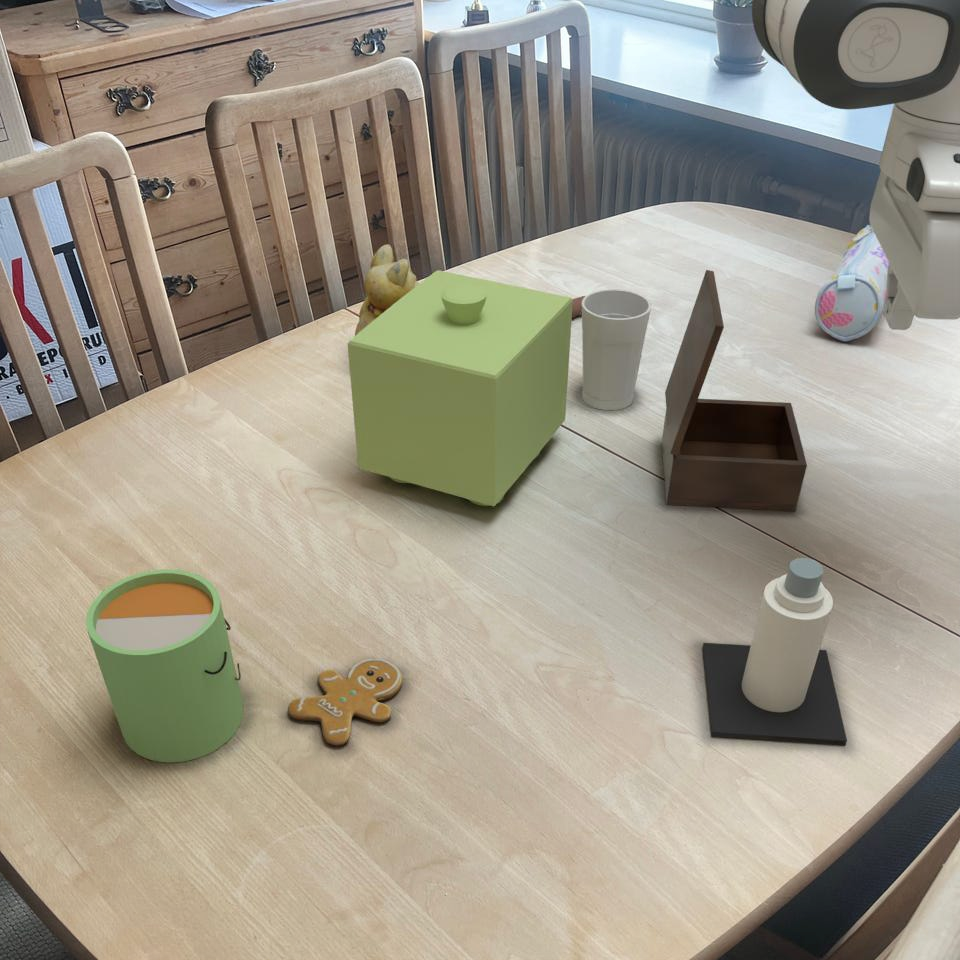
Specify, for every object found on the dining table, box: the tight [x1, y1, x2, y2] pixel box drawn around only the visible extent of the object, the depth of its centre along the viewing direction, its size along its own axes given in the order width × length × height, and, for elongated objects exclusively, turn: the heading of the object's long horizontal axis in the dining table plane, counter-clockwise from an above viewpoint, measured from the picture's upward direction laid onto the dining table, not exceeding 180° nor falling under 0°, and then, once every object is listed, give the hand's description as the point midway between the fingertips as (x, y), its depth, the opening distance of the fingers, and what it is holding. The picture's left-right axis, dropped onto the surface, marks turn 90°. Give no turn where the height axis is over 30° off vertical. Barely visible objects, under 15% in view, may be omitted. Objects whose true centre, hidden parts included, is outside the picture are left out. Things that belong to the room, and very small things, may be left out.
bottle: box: [742, 557, 834, 712], centre depth 86 cm, size 5×5×14 cm
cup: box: [581, 288, 652, 411], centre depth 124 cm, size 8×8×12 cm
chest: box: [661, 398, 808, 512], centre depth 114 cm, size 14×13×6 cm
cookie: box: [287, 658, 403, 746], centre depth 90 cm, size 8×1×10 cm
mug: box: [85, 568, 244, 763], centre depth 86 cm, size 13×10×12 cm
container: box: [347, 269, 573, 507], centre depth 111 cm, size 19×16×20 cm
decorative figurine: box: [354, 243, 420, 336], centre depth 129 cm, size 10×8×15 cm
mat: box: [702, 642, 848, 746], centre depth 91 cm, size 11×11×1 cm
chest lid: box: [664, 269, 725, 455], centre depth 107 cm, size 14×13×1 cm
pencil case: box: [814, 224, 889, 342], centre depth 142 cm, size 21×9×10 cm, turn 154°
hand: (895, 322), depth 88 cm, fingers closed
